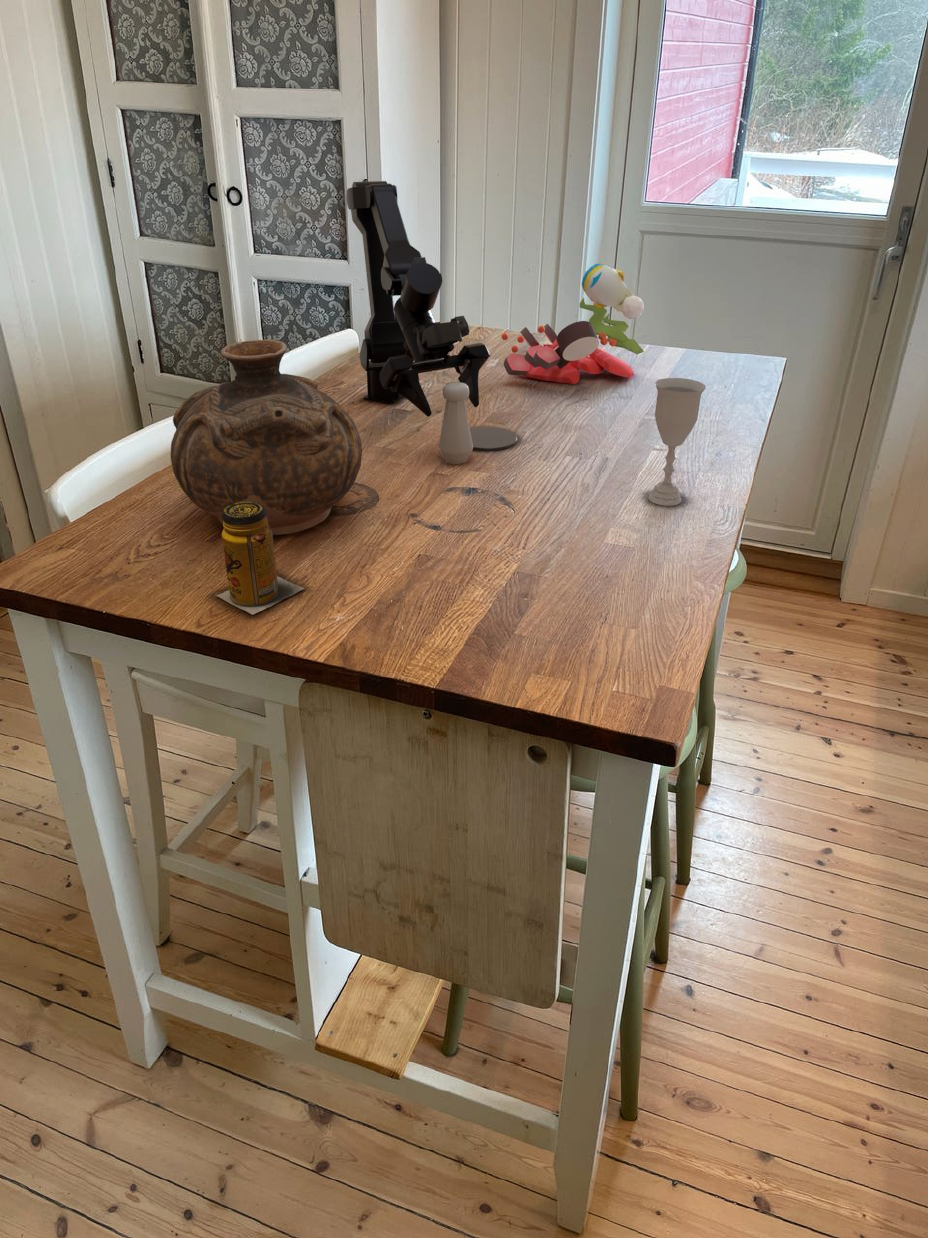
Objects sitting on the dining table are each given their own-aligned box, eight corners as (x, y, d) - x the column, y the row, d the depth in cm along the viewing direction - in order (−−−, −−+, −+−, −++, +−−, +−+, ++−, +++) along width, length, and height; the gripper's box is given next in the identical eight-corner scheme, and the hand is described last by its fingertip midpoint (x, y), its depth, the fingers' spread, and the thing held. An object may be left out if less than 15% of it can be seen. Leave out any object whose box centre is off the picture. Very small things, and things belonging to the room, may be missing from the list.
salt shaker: (474, 454, 161) (475, 379, 154) (471, 466, 156) (472, 390, 149) (440, 452, 161) (440, 377, 154) (436, 465, 156) (436, 388, 150)
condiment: (215, 596, 118) (203, 509, 112) (268, 572, 124) (258, 488, 118) (252, 616, 114) (241, 527, 108) (305, 590, 120) (297, 504, 114)
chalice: (691, 493, 147) (708, 381, 138) (685, 511, 142) (703, 394, 133) (645, 487, 149) (658, 375, 140) (637, 503, 144) (651, 388, 135)
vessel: (287, 573, 123) (257, 384, 111) (142, 533, 136) (101, 361, 124) (406, 500, 143) (392, 333, 130) (269, 471, 156) (244, 317, 143)
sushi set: (546, 412, 183) (465, 341, 192) (605, 433, 208) (531, 370, 217) (639, 284, 172) (549, 216, 181) (689, 323, 198) (608, 262, 207)
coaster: (445, 444, 164) (445, 442, 164) (469, 425, 173) (469, 422, 173) (503, 454, 161) (503, 452, 160) (525, 434, 169) (525, 431, 169)
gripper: (385, 306, 145) (422, 394, 143) (485, 293, 154) (521, 376, 152) (364, 345, 155) (398, 429, 153) (459, 331, 164) (493, 410, 162)
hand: (453, 410), depth 155 cm, fingers open, 9 cm apart
